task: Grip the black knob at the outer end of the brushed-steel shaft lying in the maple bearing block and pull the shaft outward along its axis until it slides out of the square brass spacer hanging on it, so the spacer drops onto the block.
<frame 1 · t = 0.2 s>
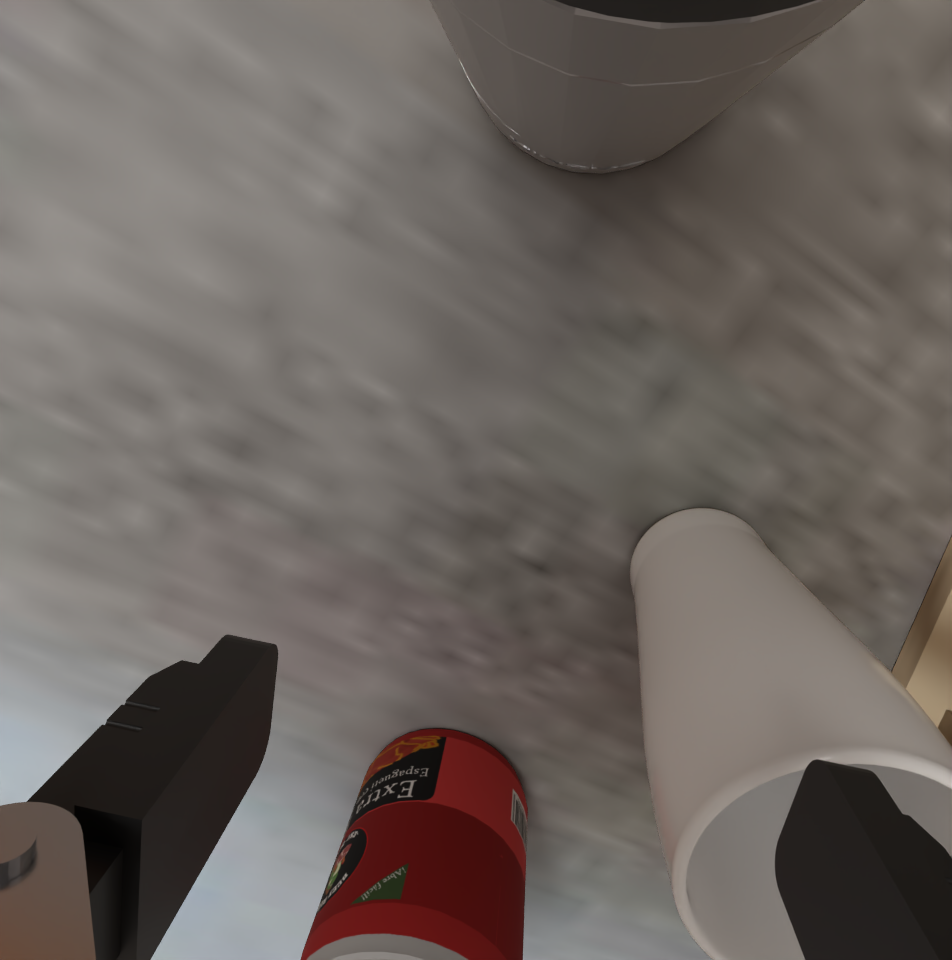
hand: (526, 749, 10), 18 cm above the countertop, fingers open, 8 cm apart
canned food: (447, 788, 33), on the countertop
drinking glass: (694, 562, 28), on the countertop
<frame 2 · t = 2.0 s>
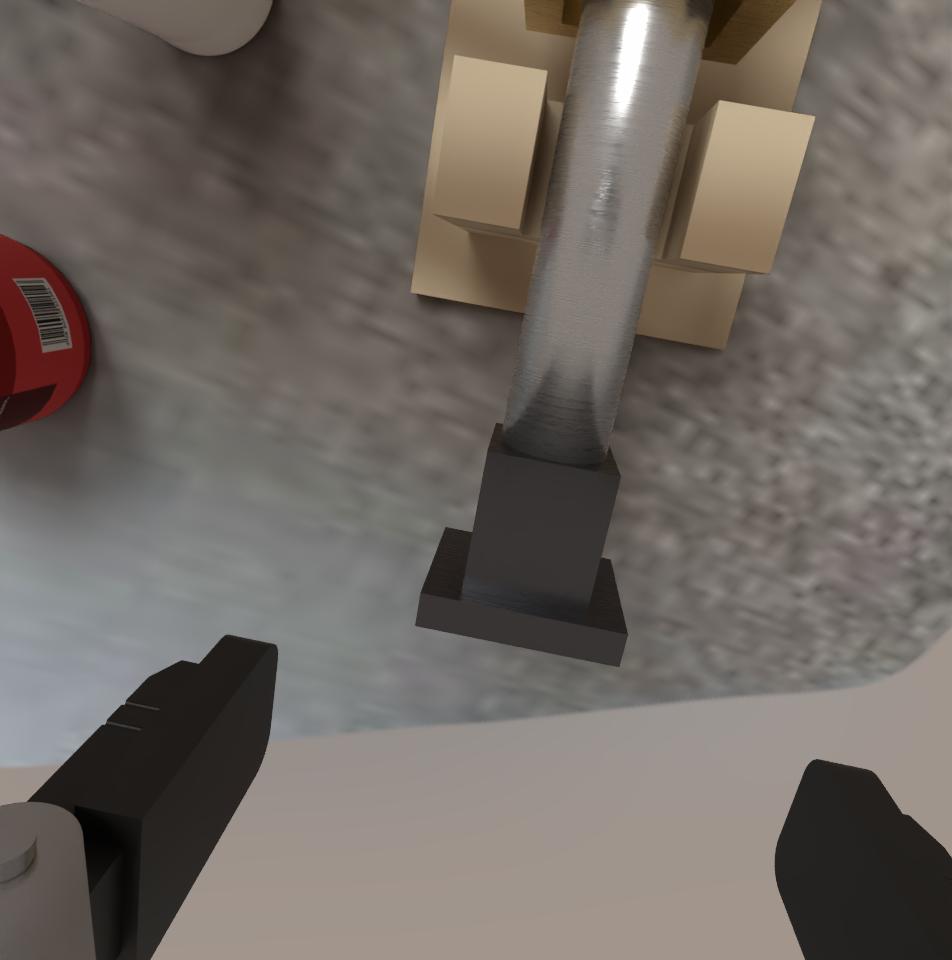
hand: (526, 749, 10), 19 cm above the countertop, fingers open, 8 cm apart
bearing block: (602, 139, 25), on the countertop
canned food: (13, 327, 30), on the countertop
shaft: (604, 204, 18), point 9 cm above the countertop, slide at 0.0 cm, touching spacer
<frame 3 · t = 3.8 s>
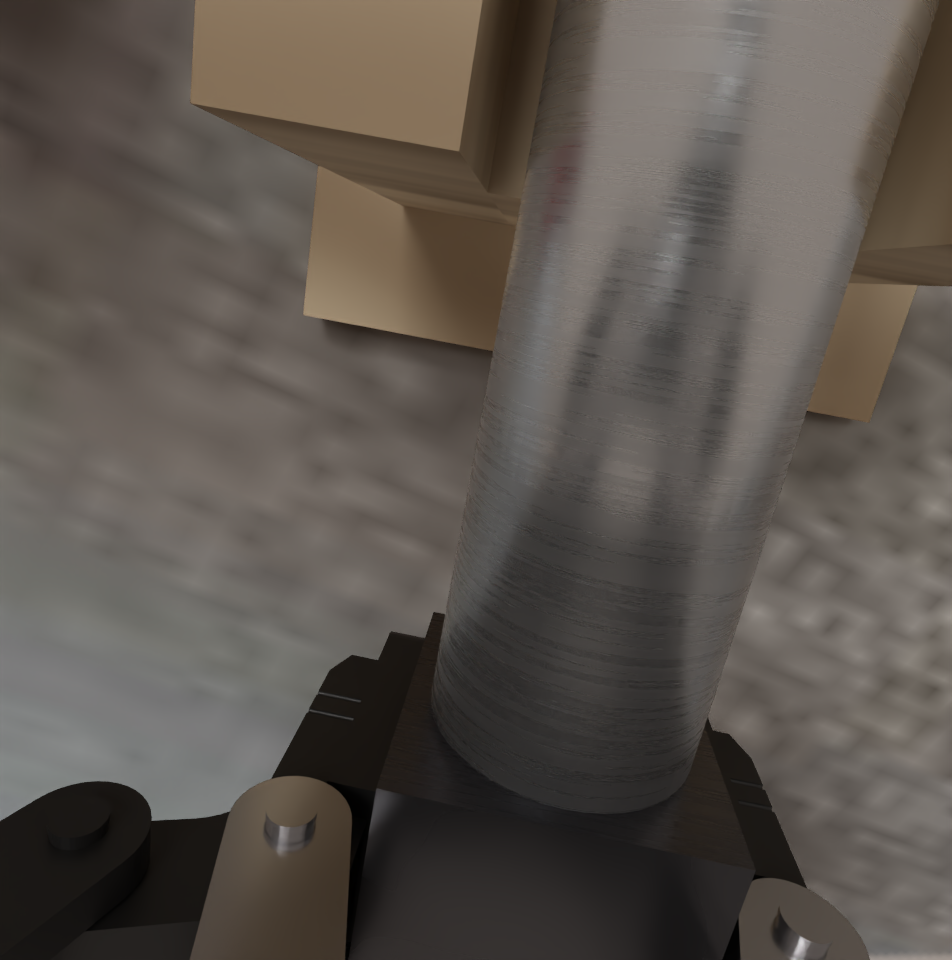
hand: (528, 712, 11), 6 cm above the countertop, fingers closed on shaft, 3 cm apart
bearing block: (650, 36, 14), on the countertop
shaft: (715, 87, 6), point 9 cm above the countertop, slide at 0.0 cm, touching gripper, spacer
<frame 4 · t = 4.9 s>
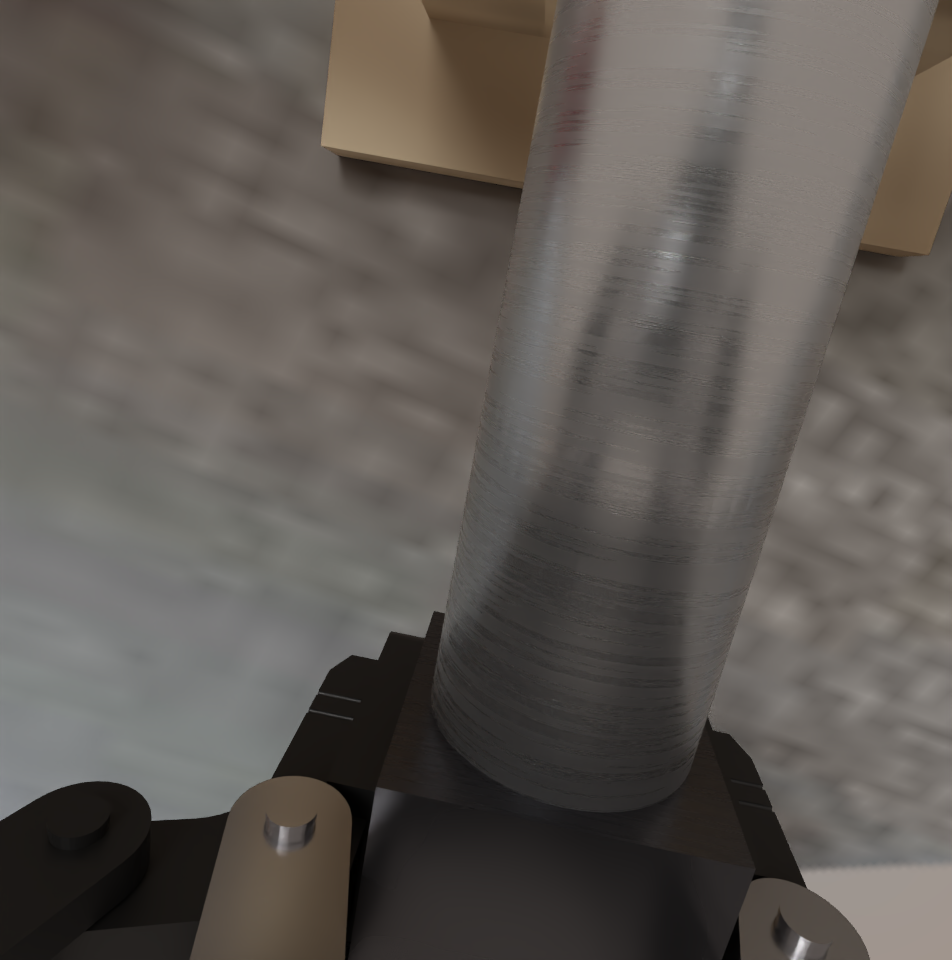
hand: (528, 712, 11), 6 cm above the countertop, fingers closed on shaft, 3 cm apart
shaft: (715, 85, 6), point 9 cm above the countertop, slide at 3.3 cm, touching gripper, spacer
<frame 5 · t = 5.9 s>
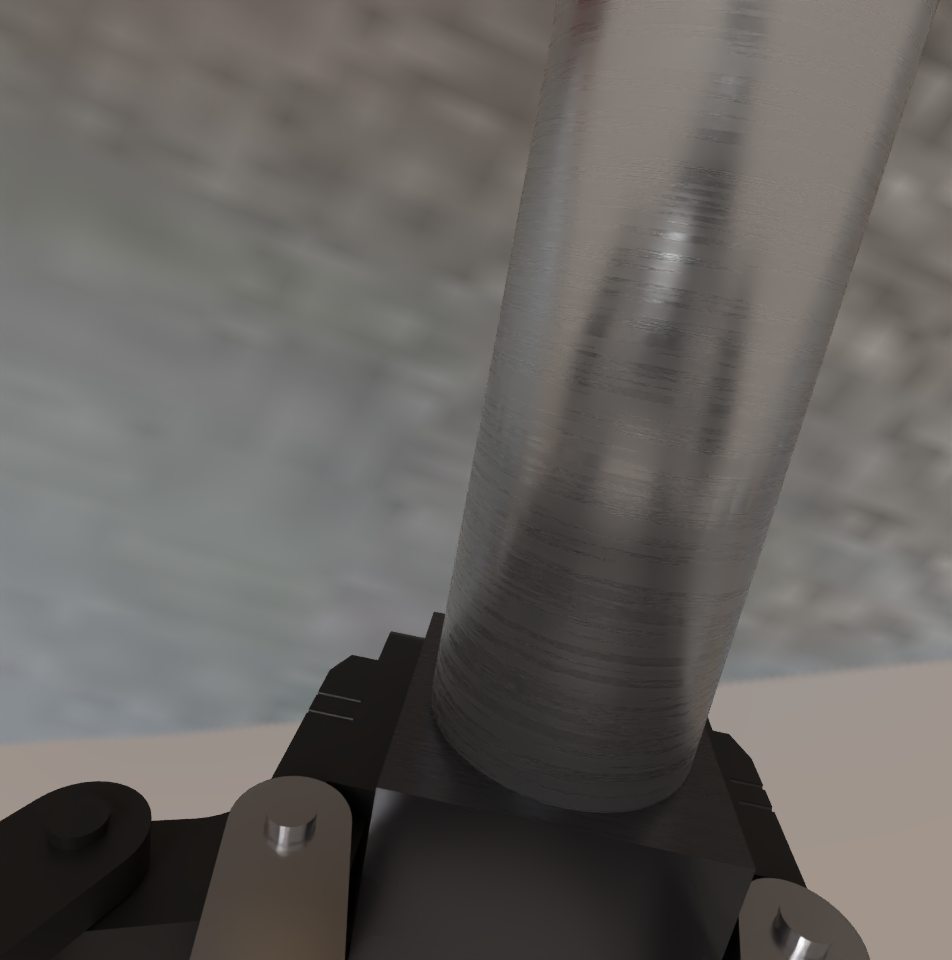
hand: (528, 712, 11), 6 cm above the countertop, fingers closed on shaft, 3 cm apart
shaft: (715, 87, 6), point 9 cm above the countertop, slide at 9.8 cm, touching gripper
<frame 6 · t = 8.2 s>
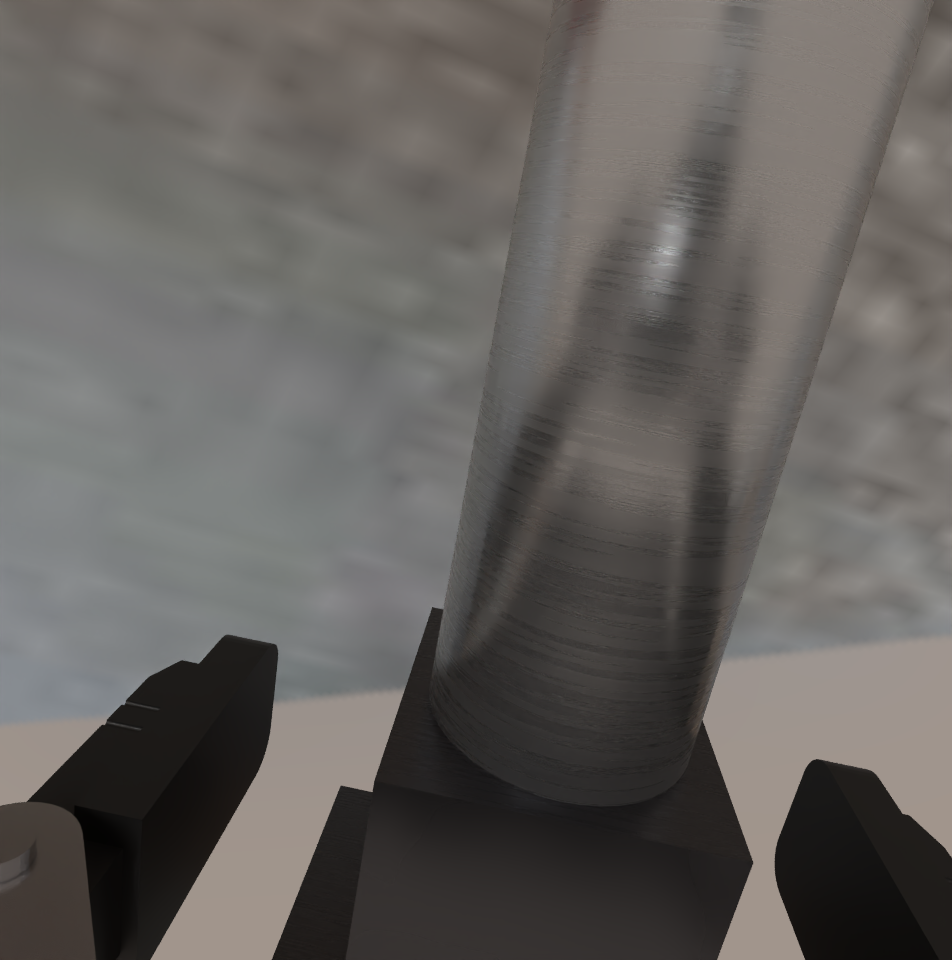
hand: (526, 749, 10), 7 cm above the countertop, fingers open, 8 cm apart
shaft: (713, 80, 6), point 9 cm above the countertop, slide at 10.4 cm
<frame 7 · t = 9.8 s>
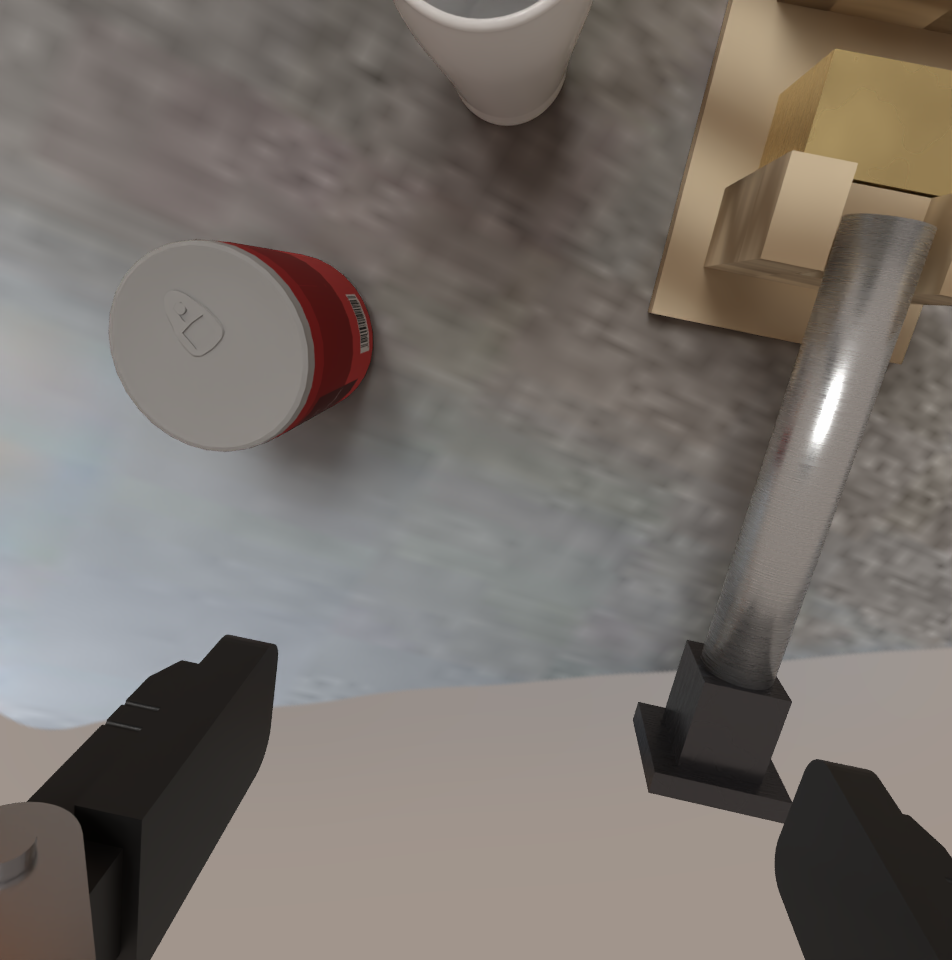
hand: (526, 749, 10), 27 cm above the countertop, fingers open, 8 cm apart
bearing block: (810, 198, 33), on the countertop
spacer: (862, 142, 28), point 4 cm above the countertop, touching bearing block
canned food: (305, 332, 37), on the countertop
drinking glass: (509, 67, 32), on the countertop
shaft: (785, 526, 28), point 9 cm above the countertop, slide at 10.4 cm
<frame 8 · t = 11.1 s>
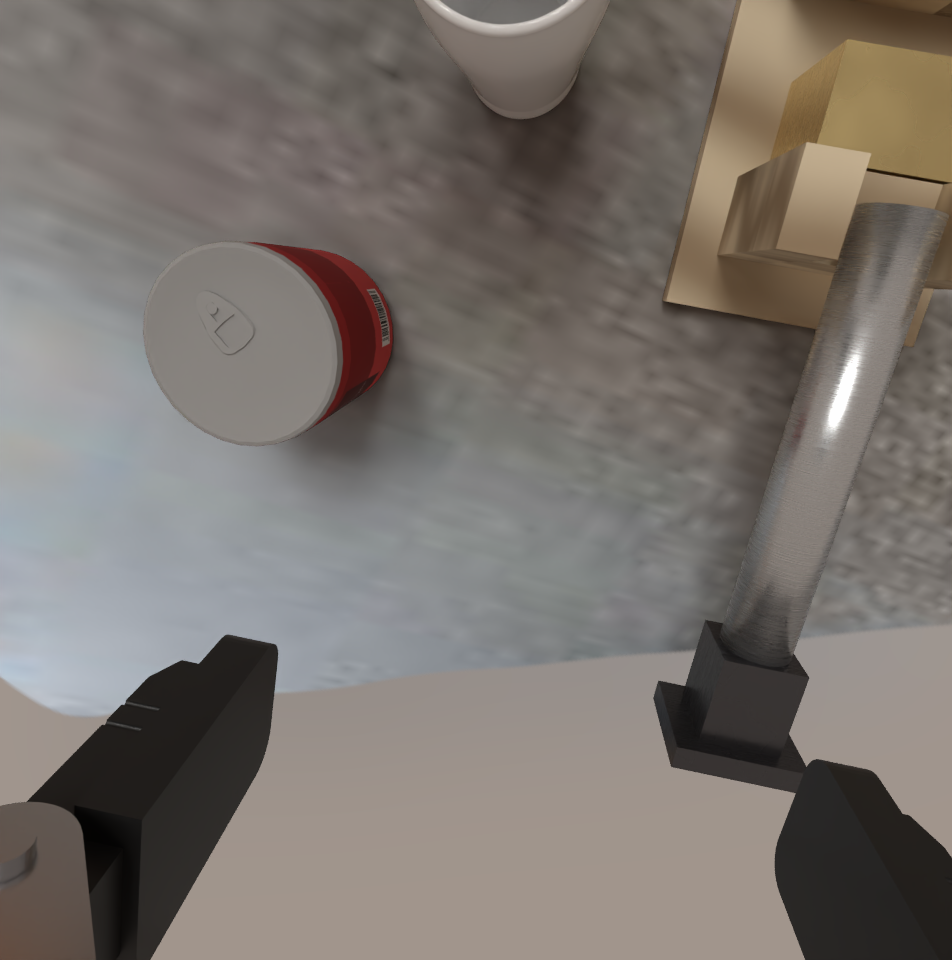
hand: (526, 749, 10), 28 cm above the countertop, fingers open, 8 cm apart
bearing block: (822, 184, 33), on the countertop
spacer: (874, 130, 28), point 4 cm above the countertop, touching bearing block
canned food: (326, 327, 37), on the countertop
drinking glass: (523, 60, 33), on the countertop
shaft: (801, 508, 28), point 9 cm above the countertop, slide at 10.4 cm
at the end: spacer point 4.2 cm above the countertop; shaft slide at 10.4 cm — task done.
